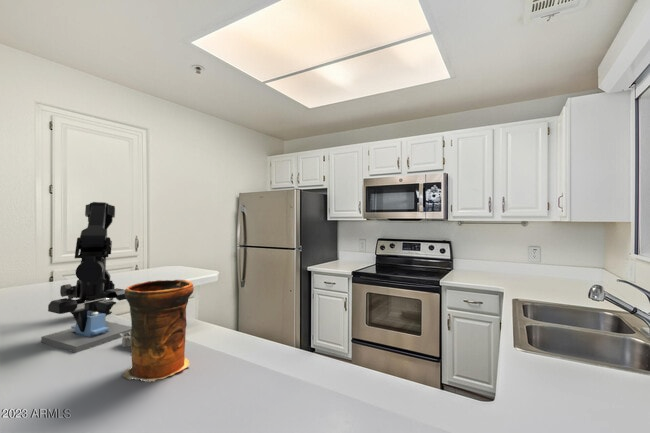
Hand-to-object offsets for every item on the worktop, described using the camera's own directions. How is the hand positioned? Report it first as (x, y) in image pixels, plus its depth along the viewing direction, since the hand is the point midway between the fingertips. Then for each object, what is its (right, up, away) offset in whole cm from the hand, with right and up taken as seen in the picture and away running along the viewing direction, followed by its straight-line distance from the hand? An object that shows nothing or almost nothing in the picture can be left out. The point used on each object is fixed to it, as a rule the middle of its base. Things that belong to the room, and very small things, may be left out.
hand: (90, 329), depth 90 cm
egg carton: (+18, -3, -4) cm, 19 cm away
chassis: (0, -2, 0) cm, 2 cm away
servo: (0, -2, 0) cm, 2 cm away
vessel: (+29, -3, -18) cm, 34 cm away
